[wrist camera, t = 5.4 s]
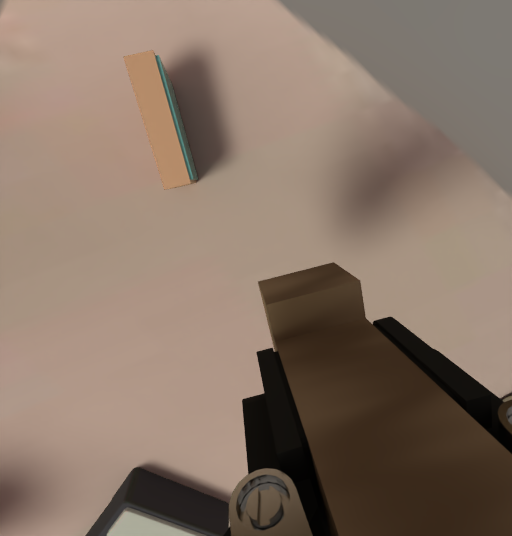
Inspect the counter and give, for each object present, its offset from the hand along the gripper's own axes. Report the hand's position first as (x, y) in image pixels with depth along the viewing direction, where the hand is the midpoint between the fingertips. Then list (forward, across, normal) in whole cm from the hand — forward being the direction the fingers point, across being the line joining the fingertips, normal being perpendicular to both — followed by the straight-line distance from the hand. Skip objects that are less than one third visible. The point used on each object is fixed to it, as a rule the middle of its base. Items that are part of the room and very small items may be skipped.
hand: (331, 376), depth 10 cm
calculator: (+17, +19, +26) cm, 36 cm away
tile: (+16, +5, -11) cm, 20 cm away
